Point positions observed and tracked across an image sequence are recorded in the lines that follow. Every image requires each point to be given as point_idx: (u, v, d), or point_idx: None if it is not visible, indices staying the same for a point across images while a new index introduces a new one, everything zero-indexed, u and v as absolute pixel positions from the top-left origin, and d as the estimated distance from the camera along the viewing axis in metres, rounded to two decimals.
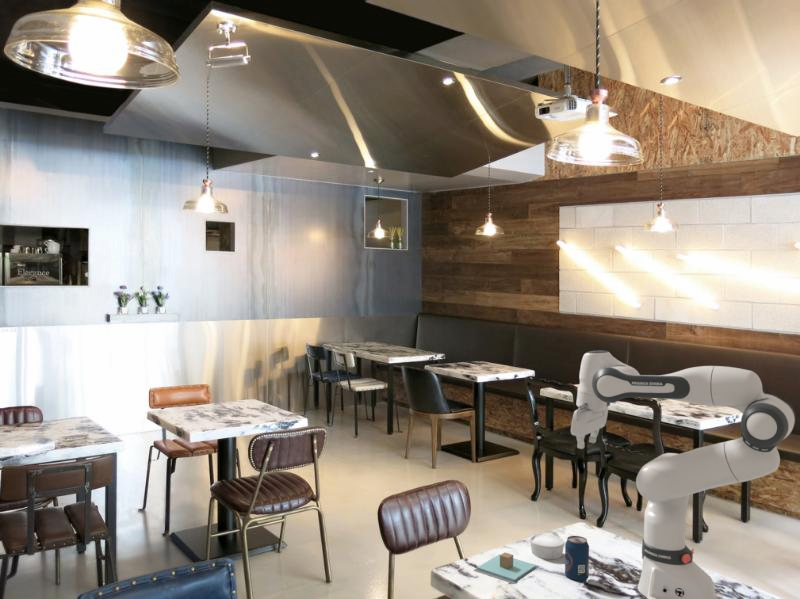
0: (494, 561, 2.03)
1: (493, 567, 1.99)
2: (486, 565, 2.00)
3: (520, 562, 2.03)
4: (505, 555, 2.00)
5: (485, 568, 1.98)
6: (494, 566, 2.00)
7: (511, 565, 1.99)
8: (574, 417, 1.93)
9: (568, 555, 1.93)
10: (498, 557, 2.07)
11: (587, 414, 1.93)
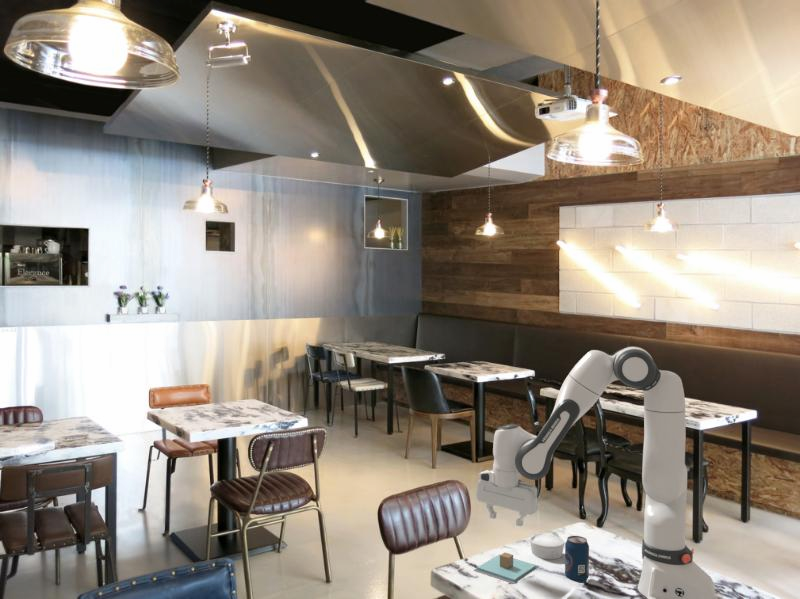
0: (494, 561, 2.03)
1: (493, 567, 1.99)
2: (486, 565, 2.00)
3: (520, 562, 2.03)
4: (505, 555, 2.00)
5: (485, 568, 1.98)
6: (494, 566, 2.00)
7: (511, 565, 1.99)
8: (532, 496, 1.93)
9: (568, 555, 1.93)
10: (498, 557, 2.07)
11: None
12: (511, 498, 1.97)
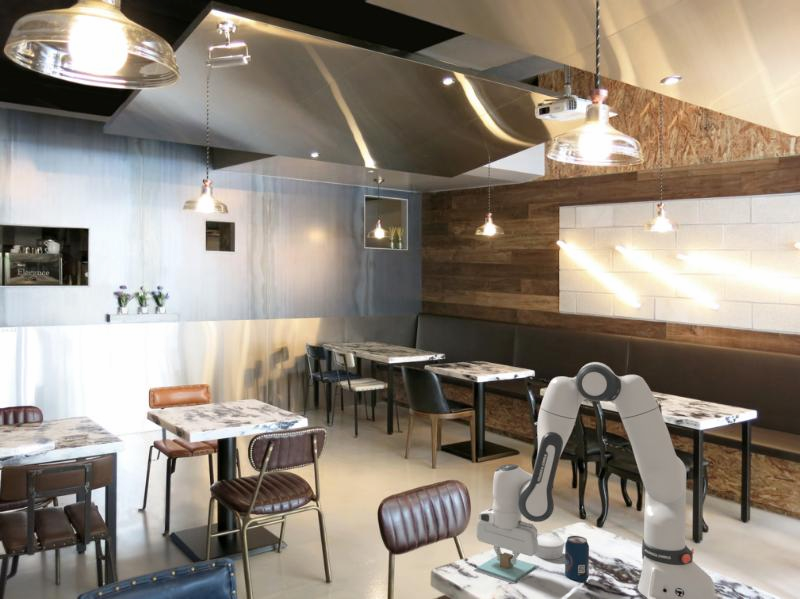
0: (495, 561, 2.03)
1: (493, 567, 1.99)
2: (486, 565, 2.00)
3: (520, 562, 2.03)
4: (505, 555, 2.00)
5: (485, 568, 1.98)
6: (494, 566, 1.99)
7: (511, 565, 1.99)
8: (532, 538, 1.93)
9: (568, 555, 1.93)
10: None
11: None
12: (511, 539, 1.97)
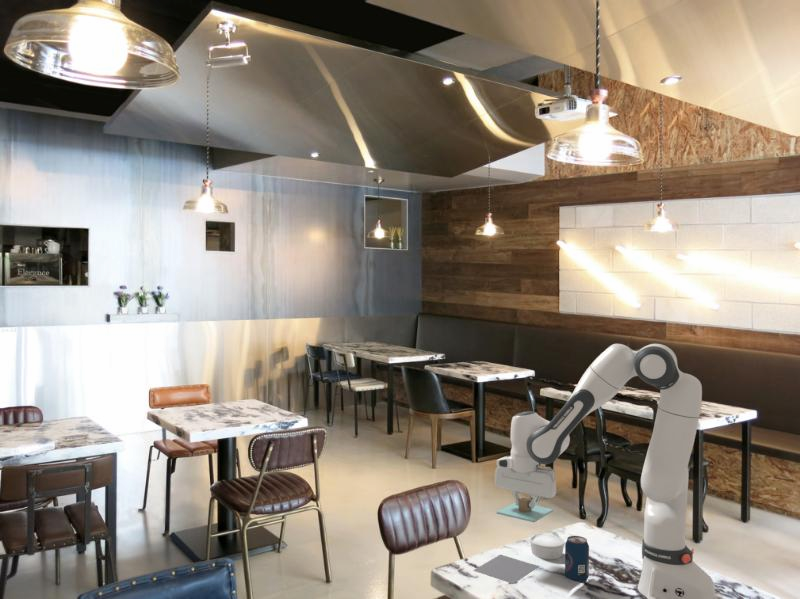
0: (513, 507, 2.08)
1: (512, 511, 2.03)
2: (505, 510, 2.05)
3: (538, 507, 2.07)
4: (523, 499, 2.04)
5: (504, 512, 2.03)
6: (513, 511, 2.04)
7: (529, 509, 2.04)
8: (551, 480, 1.97)
9: (568, 555, 1.93)
10: None
11: None
12: (529, 483, 2.01)
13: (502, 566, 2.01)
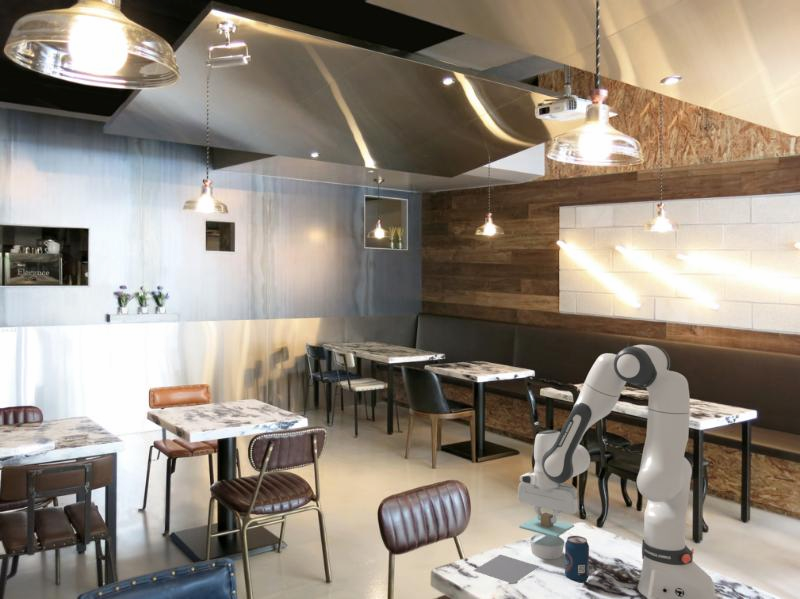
0: (535, 521, 2.15)
1: (534, 526, 2.11)
2: (527, 524, 2.12)
3: (559, 522, 2.15)
4: (546, 515, 2.12)
5: (527, 527, 2.10)
6: (535, 525, 2.12)
7: (551, 524, 2.11)
8: (572, 497, 2.05)
9: (568, 555, 1.93)
10: None
11: None
12: (552, 499, 2.09)
13: (502, 566, 2.01)
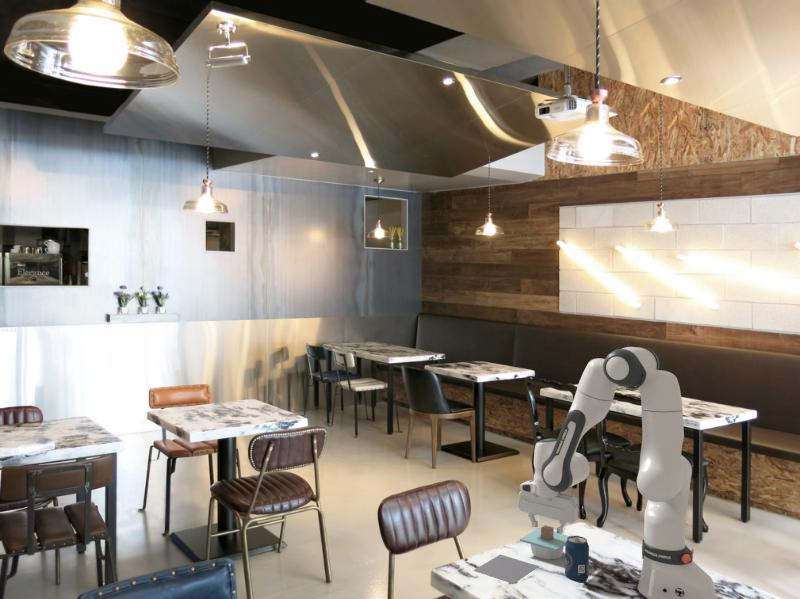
0: (535, 534, 2.15)
1: (535, 539, 2.11)
2: (528, 537, 2.12)
3: (559, 534, 2.15)
4: (546, 527, 2.12)
5: (527, 540, 2.10)
6: (536, 538, 2.11)
7: (552, 537, 2.11)
8: (573, 506, 2.05)
9: (568, 555, 1.93)
10: (538, 530, 2.19)
11: None
12: (552, 508, 2.09)
13: (502, 566, 2.01)
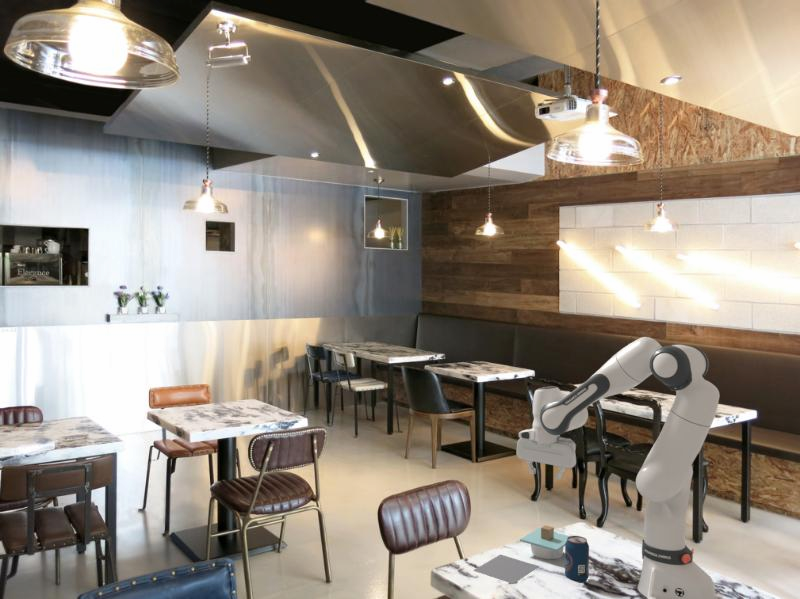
0: (535, 534, 2.15)
1: (535, 539, 2.11)
2: (528, 537, 2.12)
3: (560, 534, 2.15)
4: (546, 528, 2.12)
5: (527, 540, 2.10)
6: (536, 538, 2.11)
7: (552, 537, 2.11)
8: (571, 451, 2.07)
9: (568, 555, 1.93)
10: (538, 530, 2.19)
11: None
12: (550, 454, 2.11)
13: (502, 566, 2.01)
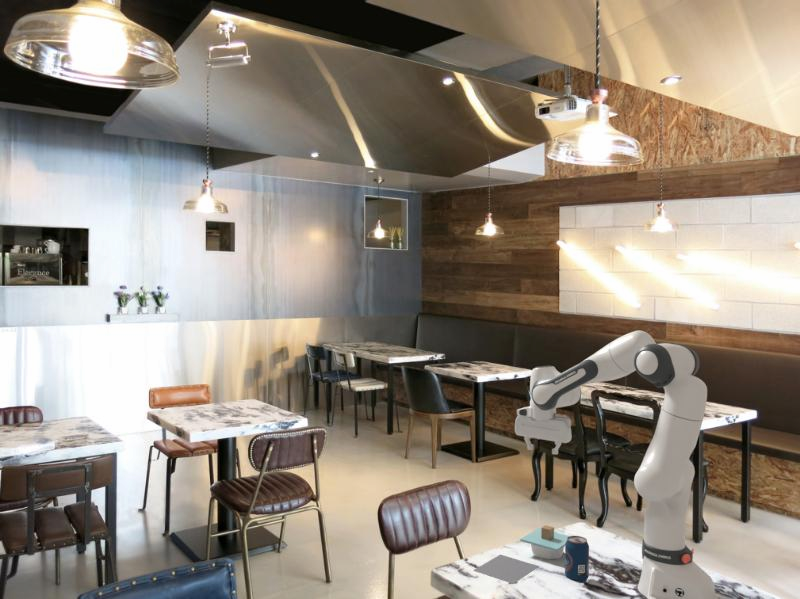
0: (536, 534, 2.15)
1: (535, 539, 2.11)
2: (528, 537, 2.12)
3: (560, 534, 2.15)
4: (546, 527, 2.12)
5: (528, 540, 2.10)
6: (536, 538, 2.11)
7: (552, 537, 2.11)
8: (566, 427, 2.17)
9: (568, 555, 1.93)
10: (538, 530, 2.19)
11: None
12: (547, 430, 2.21)
13: (502, 566, 2.01)
